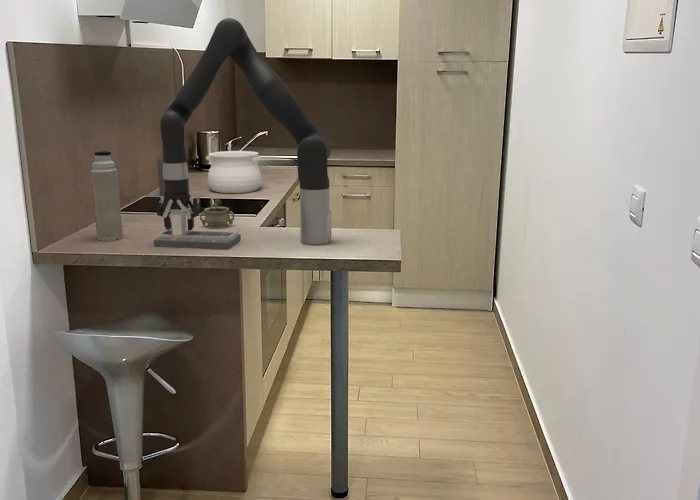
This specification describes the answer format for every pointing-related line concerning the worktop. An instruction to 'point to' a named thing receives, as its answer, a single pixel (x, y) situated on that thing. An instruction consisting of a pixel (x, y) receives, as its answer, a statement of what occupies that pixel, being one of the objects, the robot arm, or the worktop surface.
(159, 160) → the liquor
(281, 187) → the worktop surface
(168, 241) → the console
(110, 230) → the thermos bottle
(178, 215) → the block
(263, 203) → the worktop surface
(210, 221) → the vessel
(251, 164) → the pot
